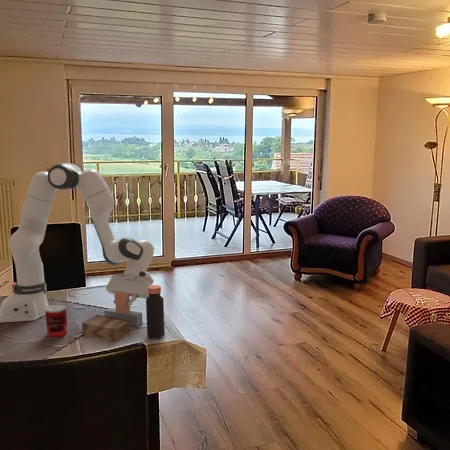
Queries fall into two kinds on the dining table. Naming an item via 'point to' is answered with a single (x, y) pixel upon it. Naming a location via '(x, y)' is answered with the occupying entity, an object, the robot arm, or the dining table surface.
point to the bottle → (155, 312)
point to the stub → (124, 310)
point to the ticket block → (105, 327)
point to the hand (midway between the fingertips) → (121, 304)
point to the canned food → (56, 321)
